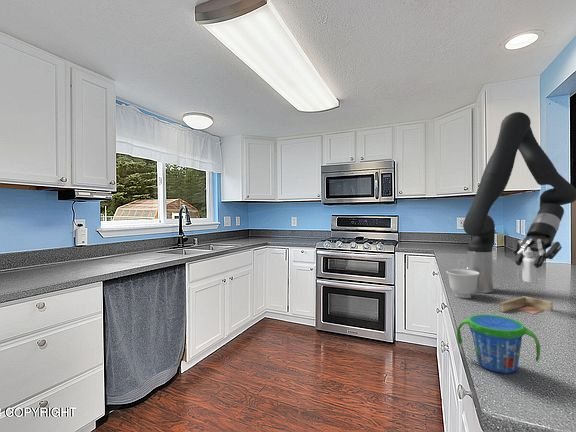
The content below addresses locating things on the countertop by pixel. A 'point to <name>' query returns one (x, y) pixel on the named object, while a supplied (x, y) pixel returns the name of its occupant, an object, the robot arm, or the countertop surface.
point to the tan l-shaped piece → (526, 302)
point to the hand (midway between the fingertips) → (526, 264)
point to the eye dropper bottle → (529, 267)
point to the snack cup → (497, 341)
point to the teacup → (463, 282)
